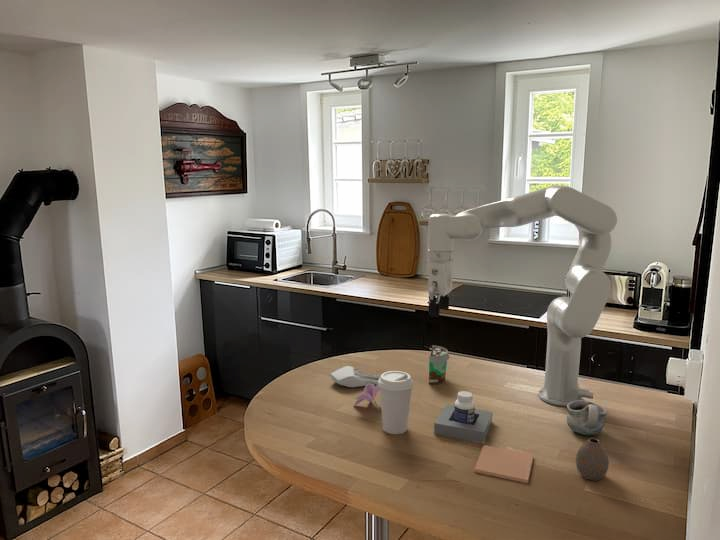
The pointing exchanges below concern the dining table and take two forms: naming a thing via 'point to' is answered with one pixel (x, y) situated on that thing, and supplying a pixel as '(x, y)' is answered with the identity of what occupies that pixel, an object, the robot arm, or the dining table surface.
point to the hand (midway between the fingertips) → (438, 312)
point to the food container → (437, 364)
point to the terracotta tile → (504, 463)
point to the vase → (592, 460)
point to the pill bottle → (464, 408)
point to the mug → (585, 417)
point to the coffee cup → (395, 400)
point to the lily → (368, 394)
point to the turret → (353, 377)
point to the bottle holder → (463, 425)
